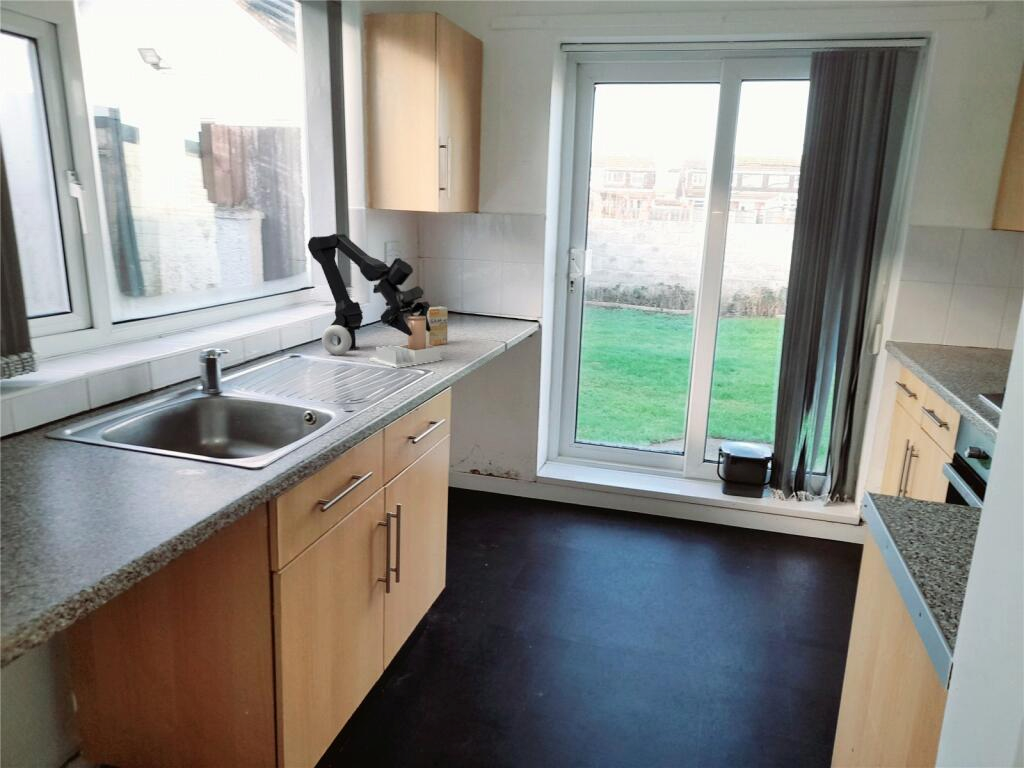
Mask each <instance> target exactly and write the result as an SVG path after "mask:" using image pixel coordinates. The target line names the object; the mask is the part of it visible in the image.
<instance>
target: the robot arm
mask: <svg viewBox="0 0 1024 768" xmlns="http://www.w3.org/2000/svg"><path fill="white" fill-rule="evenodd" d="M307 248H308V250H309V253H310V254H311V256H312V259H314V260H315V261H316V262H317V263H318V264H319V265H320V266H321V268H322V271H323V272H322V273H323V274H324V276H325V279H326V282H327V284H328V287H329V289H330V292H331V295H332V297H333V299H334V302H335V309H334V316H335V319H334V320H333V321H332V323H331V324H330V326H331V325H339V326H342V327H344V328H345V329H346V330H347V331H348V332H349V334H350V336H351V340H352V342H351V347H350V349H349V350H348V351H350V350H351V349H352V350H356V349H357V350H358V349H360V346H357V341H356V331H357V330H360V329H361V324H362V322H363V319H364V318H363V312H364V311H362V309H361V306H360V303H359V301H355V302H354V301H353V300H352V299H351V297H350V295H349V293H348V290H347V287H346V284H345V282H344V280H343V277H342V274H341V272H340V270H339V267H338V264H337V262H336V255H337V249H338V250H339V251H340V252H341V253H342V254H344V255H345V256H346V257H347V258H348V259H350V260H351V261H352V262H353V263H354V265H357V267H358V269H359V270H360V271H359V272H360V274H361V275H362V276H363V277H364V278H365V280H366V281H368V282H378V283H377V284H374V285H373V290H372V291H373V293H372V294H378V293H380V294H381V296H382V297H383V298H384V299H385V301H386V302H385V306H386V307H387V308H386V309H385V310H384V312H383V313H382V314H381V315H380V321H381V323H382V324H383V325H387V326H388V327H392V328H393V329H396V330H398V331H400V332H401V333H403V334H406V335H407V336H408V335H409V336H411V335H412V332H411V330H410V328H409V327H408V323H407V322H406V320H405V319H404V316H412V315H421V316H426V331H428V332H430V330H431V328H430V325H429V322H428V318H427V311H428V310H429V308H430V307H431V304H430V303H429V302H428V301H427V300H422V301H417V302H416V303H415V301H416V300H418V299H422V298H423V295H424V290H423V288H422V287H420V285H417V286H415V287H412V288H410V289H407V290H406V291H405V290H401V288H400V287H399V286H403V285H404V284H405V282H406V281H407V280H408V279H409V278H410V276H411V275H412V274H413V272H414V270H413V267H412V266H411V264H409V263H407V261H404V260H402V259H401V258H400V257H398V258H397V257H396V258H394V260H393V262H392V263H391V264H390V266H388V265H387V264H386V263H385V262H384V261H382V260H380V259H379V258H378V259H377V258H375V257H373V256H370V255H369V254H368V253H366V252H365V251H364V250H363V249H361V248H360V246H358V245H356V244H355V242H353V241H352V240H351V239H350V238H348V235H346V234H345V233H332V234H330V235H326V236H325V235H323V236H312V237H311V238H309V241H308V243H307ZM413 305H414V306H413ZM336 339H337V341H336V343H337V344H336V345H340V343H341V339H340V337H339V336H337V335H336Z"/></svg>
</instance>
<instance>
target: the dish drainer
mask: <svg viewBox="0 0 1024 768" xmlns="http://www.w3.org/2000/svg"><path fill="white" fill-rule="evenodd" d="M375 348H376V356H373V357H369V361H370V360H371V361H375V362H378V363H383V364H386V365H390V366H394V367H402V366H409V365H414V364H420V363H425V362H431V361H437V362H440V361H439V360H442V361H443V357H441V356H440V346H438V345H429V344H426V349H422V350H416V351H414V350H411V349H408V343H406V344H403V345H396V346H395V345H390V344H388V345H387V346H385V345H382V346H381V347H380V346H376V347H375ZM371 361H370V362H371ZM378 363H377V364H378ZM431 363H432V362H431Z"/></svg>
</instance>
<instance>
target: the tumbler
mask: <svg viewBox="0 0 1024 768" xmlns="http://www.w3.org/2000/svg"><path fill="white" fill-rule="evenodd" d="M407 325H408V327H409V328H410V330H411V332H412V335H411V336H409V335H407V340H408V341H407V344H408V349H411V350H414V351H416V350H422V349H426V316H421V315H412V316H411V315H407Z"/></svg>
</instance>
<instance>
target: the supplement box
mask: <svg viewBox="0 0 1024 768" xmlns="http://www.w3.org/2000/svg"><path fill="white" fill-rule="evenodd" d="M448 311H449V310H448V307H446V306H430V308H429V310H428V311H427V318H428V322H429V325H430V328H431V330H430V332H428V331H426V344H429V345H433V346H439V345H447V344H448V324H449V323H448V316H449V315H448Z"/></svg>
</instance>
